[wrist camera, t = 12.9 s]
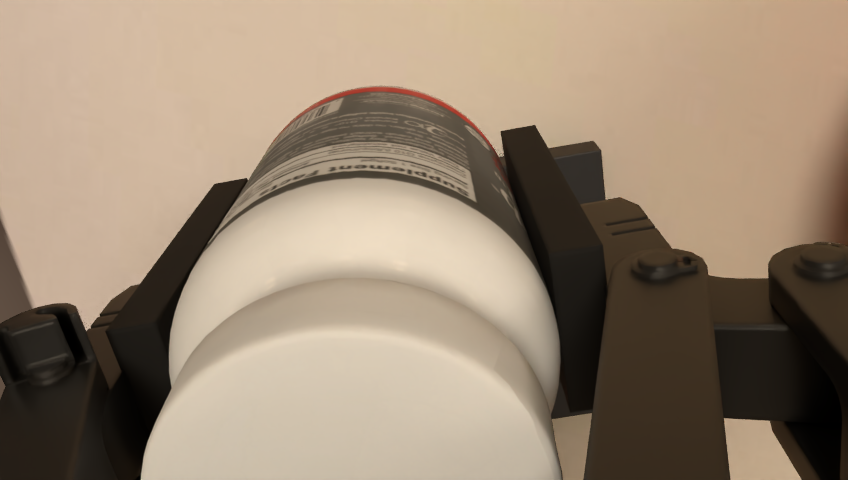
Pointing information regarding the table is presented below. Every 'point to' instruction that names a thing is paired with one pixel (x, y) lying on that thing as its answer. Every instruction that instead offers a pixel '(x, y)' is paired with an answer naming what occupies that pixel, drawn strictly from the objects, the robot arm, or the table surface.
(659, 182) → the table surface
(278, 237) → the pill bottle
